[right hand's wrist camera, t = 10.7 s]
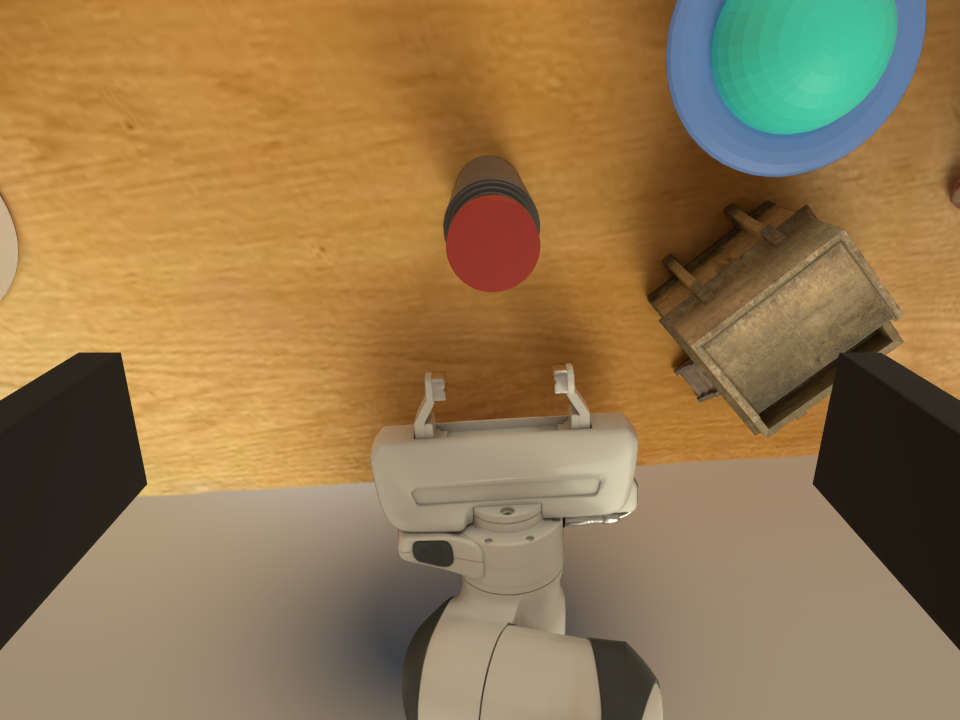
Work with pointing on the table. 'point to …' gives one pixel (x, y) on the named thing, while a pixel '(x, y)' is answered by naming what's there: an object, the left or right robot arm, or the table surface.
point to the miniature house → (774, 313)
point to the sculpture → (955, 194)
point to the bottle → (488, 187)
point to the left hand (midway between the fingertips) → (498, 370)
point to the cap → (492, 243)
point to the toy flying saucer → (789, 76)
